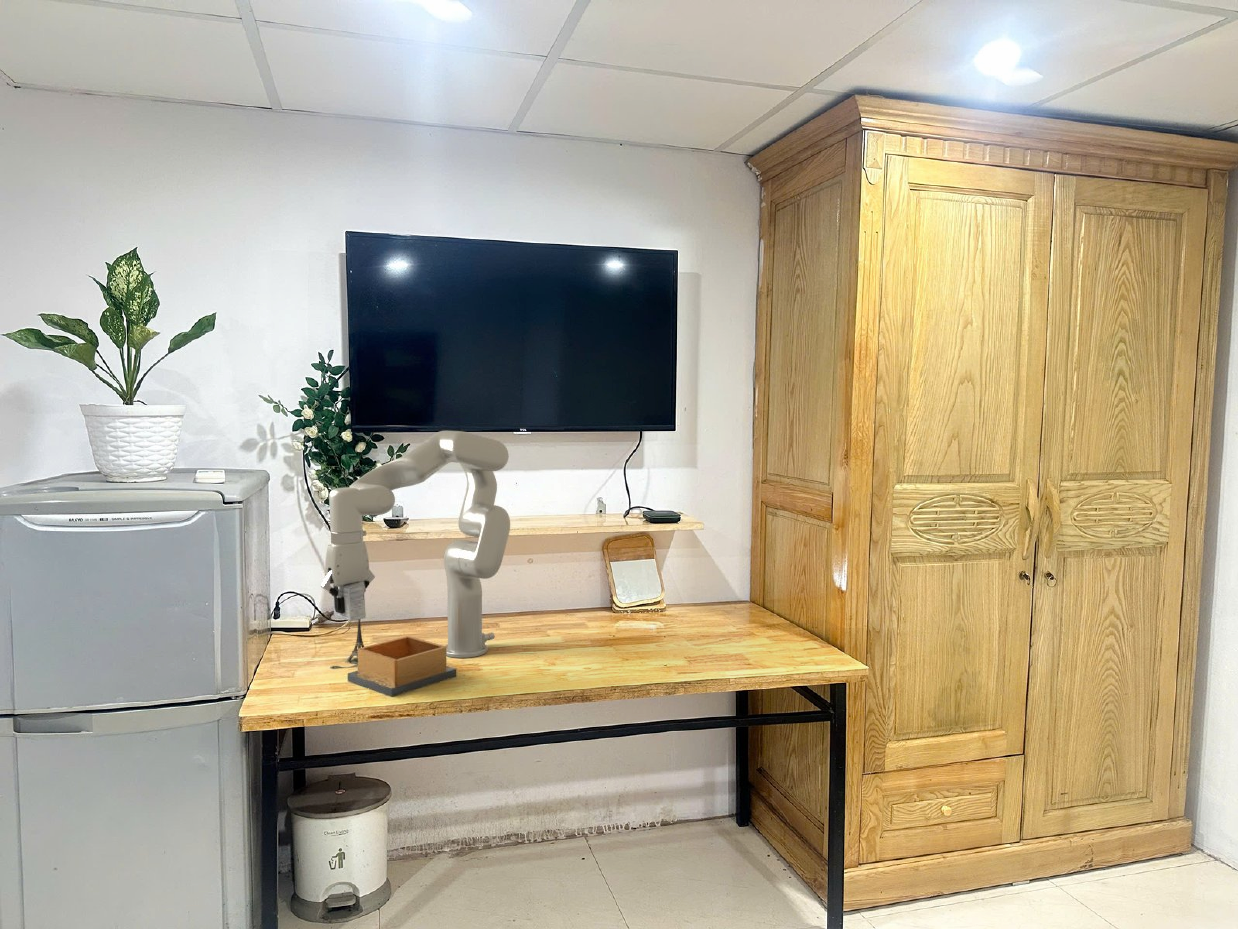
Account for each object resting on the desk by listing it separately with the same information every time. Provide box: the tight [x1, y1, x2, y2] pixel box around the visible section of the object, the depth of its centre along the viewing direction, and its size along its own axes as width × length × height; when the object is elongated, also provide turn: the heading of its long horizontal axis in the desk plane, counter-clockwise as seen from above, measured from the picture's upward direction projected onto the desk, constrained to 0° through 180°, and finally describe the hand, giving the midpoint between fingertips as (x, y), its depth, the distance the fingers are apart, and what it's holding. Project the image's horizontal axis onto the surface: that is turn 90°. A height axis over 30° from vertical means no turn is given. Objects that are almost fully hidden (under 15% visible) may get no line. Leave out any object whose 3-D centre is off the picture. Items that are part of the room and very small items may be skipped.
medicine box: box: [332, 582, 367, 622], centre depth 213 cm, size 8×4×9 cm, turn 47°
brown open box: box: [347, 635, 457, 698], centre depth 218 cm, size 20×18×8 cm
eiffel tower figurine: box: [329, 619, 365, 670], centre depth 232 cm, size 15×10×13 cm
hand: (349, 609), depth 213 cm, fingers closed on medicine box, 4 cm apart
